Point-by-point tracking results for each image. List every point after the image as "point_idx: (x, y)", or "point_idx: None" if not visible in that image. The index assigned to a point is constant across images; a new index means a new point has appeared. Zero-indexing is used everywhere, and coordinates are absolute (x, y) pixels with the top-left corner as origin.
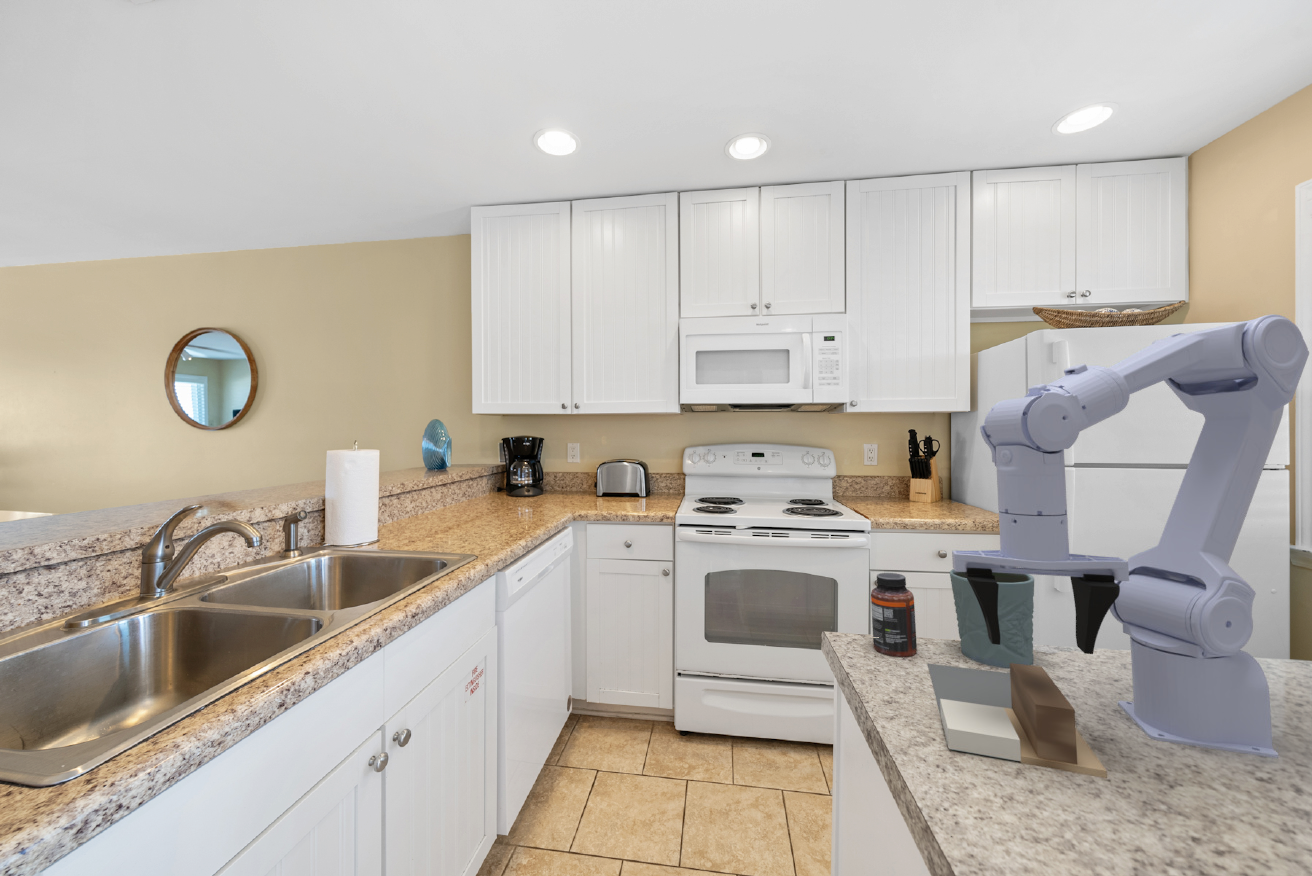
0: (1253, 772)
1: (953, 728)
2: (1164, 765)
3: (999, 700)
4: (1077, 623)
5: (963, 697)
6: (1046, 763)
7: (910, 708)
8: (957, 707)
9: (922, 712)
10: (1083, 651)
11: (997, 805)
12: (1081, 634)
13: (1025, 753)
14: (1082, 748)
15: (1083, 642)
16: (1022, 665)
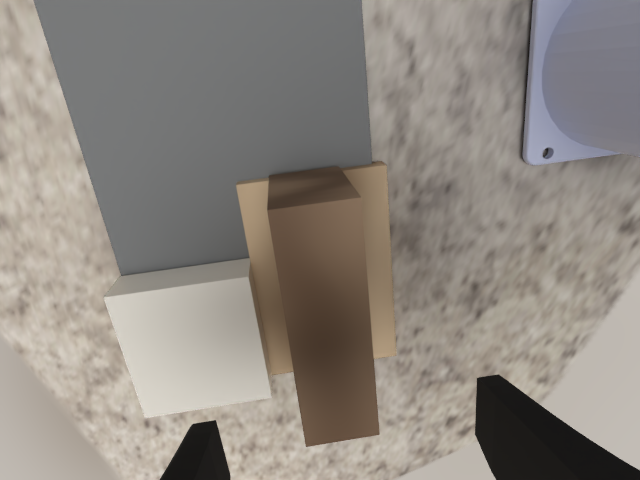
0: (631, 206)
1: (155, 413)
2: (499, 250)
3: (242, 104)
4: (529, 445)
5: (153, 131)
6: None
7: (44, 241)
8: (149, 324)
9: (76, 249)
10: (476, 428)
11: (235, 468)
12: (506, 458)
13: (280, 363)
14: (378, 301)
15: (492, 459)
16: (304, 213)
